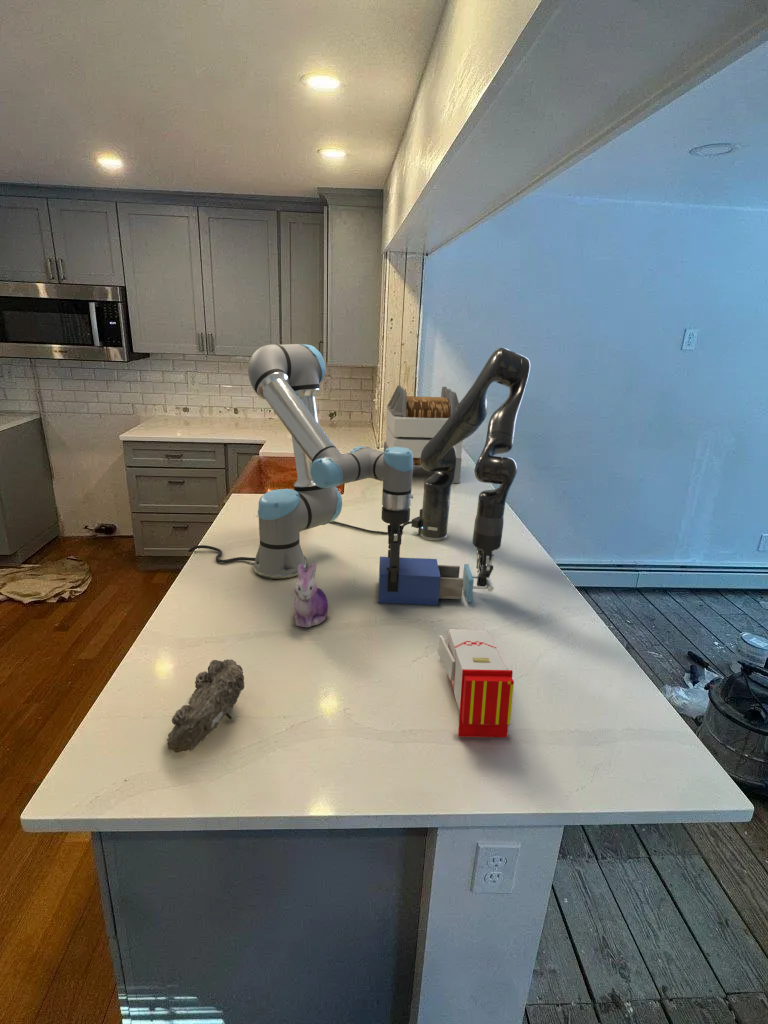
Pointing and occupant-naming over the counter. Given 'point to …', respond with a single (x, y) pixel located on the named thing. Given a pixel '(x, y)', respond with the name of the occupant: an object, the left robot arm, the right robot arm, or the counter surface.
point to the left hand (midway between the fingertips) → (392, 580)
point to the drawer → (458, 583)
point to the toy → (478, 682)
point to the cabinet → (411, 582)
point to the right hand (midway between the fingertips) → (480, 587)
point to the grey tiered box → (419, 422)
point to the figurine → (309, 599)
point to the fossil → (206, 705)
